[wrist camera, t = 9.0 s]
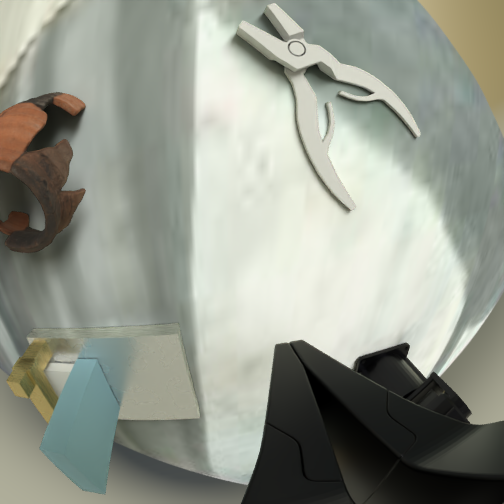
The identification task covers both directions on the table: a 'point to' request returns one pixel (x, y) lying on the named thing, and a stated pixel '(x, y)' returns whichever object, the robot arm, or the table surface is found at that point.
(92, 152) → the table surface
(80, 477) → the clip bar
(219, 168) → the table surface
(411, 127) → the pliers
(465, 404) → the robot arm
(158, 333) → the block holder base
